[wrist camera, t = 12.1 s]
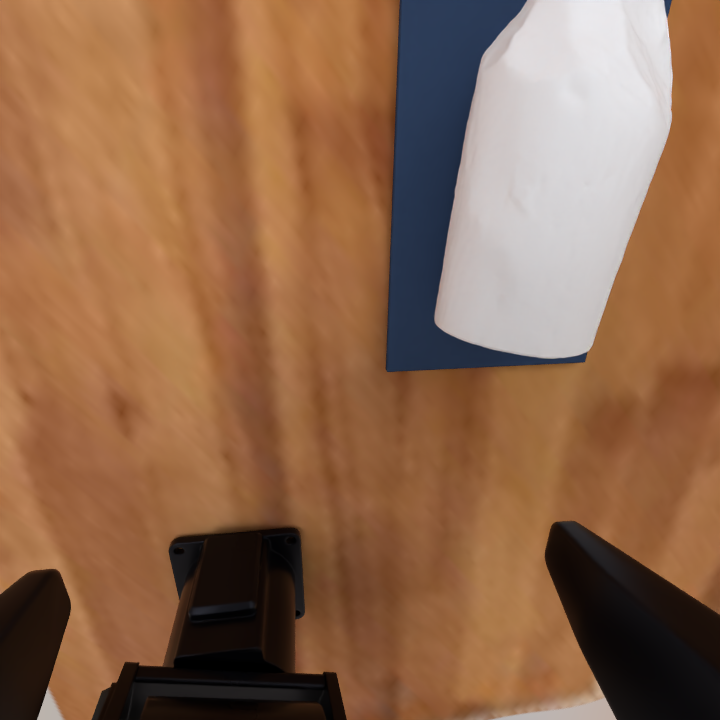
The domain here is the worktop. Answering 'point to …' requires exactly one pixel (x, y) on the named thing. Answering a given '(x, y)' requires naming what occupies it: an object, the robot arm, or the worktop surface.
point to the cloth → (436, 173)
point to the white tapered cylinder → (554, 173)
